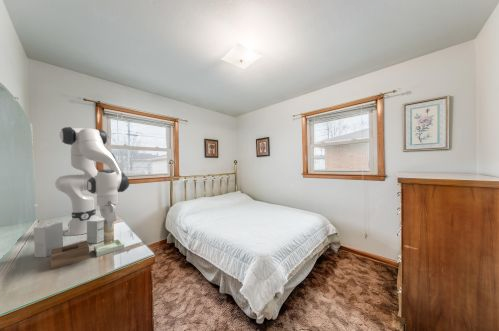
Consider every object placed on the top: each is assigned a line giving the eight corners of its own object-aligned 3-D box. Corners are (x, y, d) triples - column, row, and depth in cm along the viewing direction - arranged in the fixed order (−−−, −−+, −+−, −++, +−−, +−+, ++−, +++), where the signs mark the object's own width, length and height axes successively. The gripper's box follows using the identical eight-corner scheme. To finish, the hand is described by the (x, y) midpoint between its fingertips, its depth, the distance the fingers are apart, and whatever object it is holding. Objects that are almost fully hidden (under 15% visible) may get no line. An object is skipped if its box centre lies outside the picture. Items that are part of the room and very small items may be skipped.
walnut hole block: (51, 260, 82) (51, 249, 82) (86, 250, 91) (86, 240, 91) (51, 269, 74) (50, 257, 74) (89, 258, 83) (89, 247, 83)
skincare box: (53, 249, 93) (52, 221, 93) (64, 249, 93) (63, 221, 93) (33, 258, 85) (32, 227, 85) (45, 257, 85) (45, 226, 85)
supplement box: (96, 243, 99) (96, 221, 99) (86, 243, 101) (85, 220, 101) (109, 238, 107) (109, 217, 107) (99, 237, 108) (99, 217, 108)
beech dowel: (103, 243, 91) (103, 220, 92) (112, 240, 94) (112, 218, 94) (104, 245, 89) (104, 221, 89) (114, 242, 92) (114, 219, 92)
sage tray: (94, 250, 91) (93, 245, 91) (119, 243, 99) (119, 238, 99) (97, 257, 84) (96, 251, 84) (124, 248, 92) (124, 244, 92)
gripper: (119, 202, 87) (120, 230, 87) (111, 197, 101) (112, 222, 101) (103, 204, 82) (104, 233, 82) (97, 199, 96) (97, 225, 96)
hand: (108, 227), depth 92 cm, fingers closed on beech dowel, 4 cm apart
